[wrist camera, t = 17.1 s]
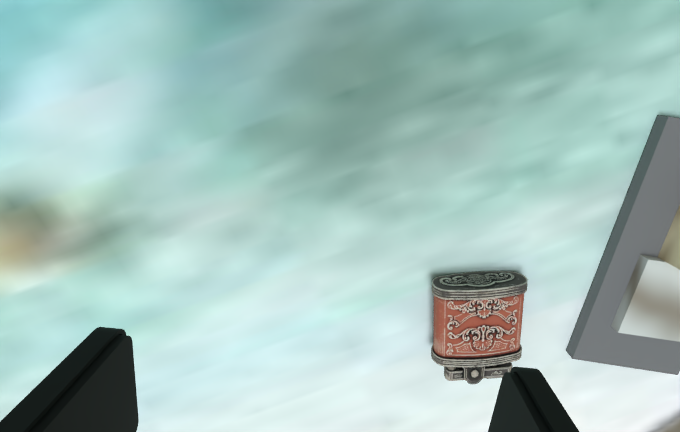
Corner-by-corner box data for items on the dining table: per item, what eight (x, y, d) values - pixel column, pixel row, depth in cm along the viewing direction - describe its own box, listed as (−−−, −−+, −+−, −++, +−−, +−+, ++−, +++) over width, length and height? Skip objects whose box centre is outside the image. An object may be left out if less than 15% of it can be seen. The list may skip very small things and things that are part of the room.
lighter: (427, 275, 37) (427, 369, 40) (437, 293, 33) (436, 394, 36) (516, 268, 37) (509, 362, 40) (535, 286, 33) (526, 386, 37)
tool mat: (657, 115, 32) (668, 116, 31) (779, 136, 32) (795, 137, 31) (565, 350, 39) (572, 358, 38) (668, 366, 39) (677, 374, 38)
